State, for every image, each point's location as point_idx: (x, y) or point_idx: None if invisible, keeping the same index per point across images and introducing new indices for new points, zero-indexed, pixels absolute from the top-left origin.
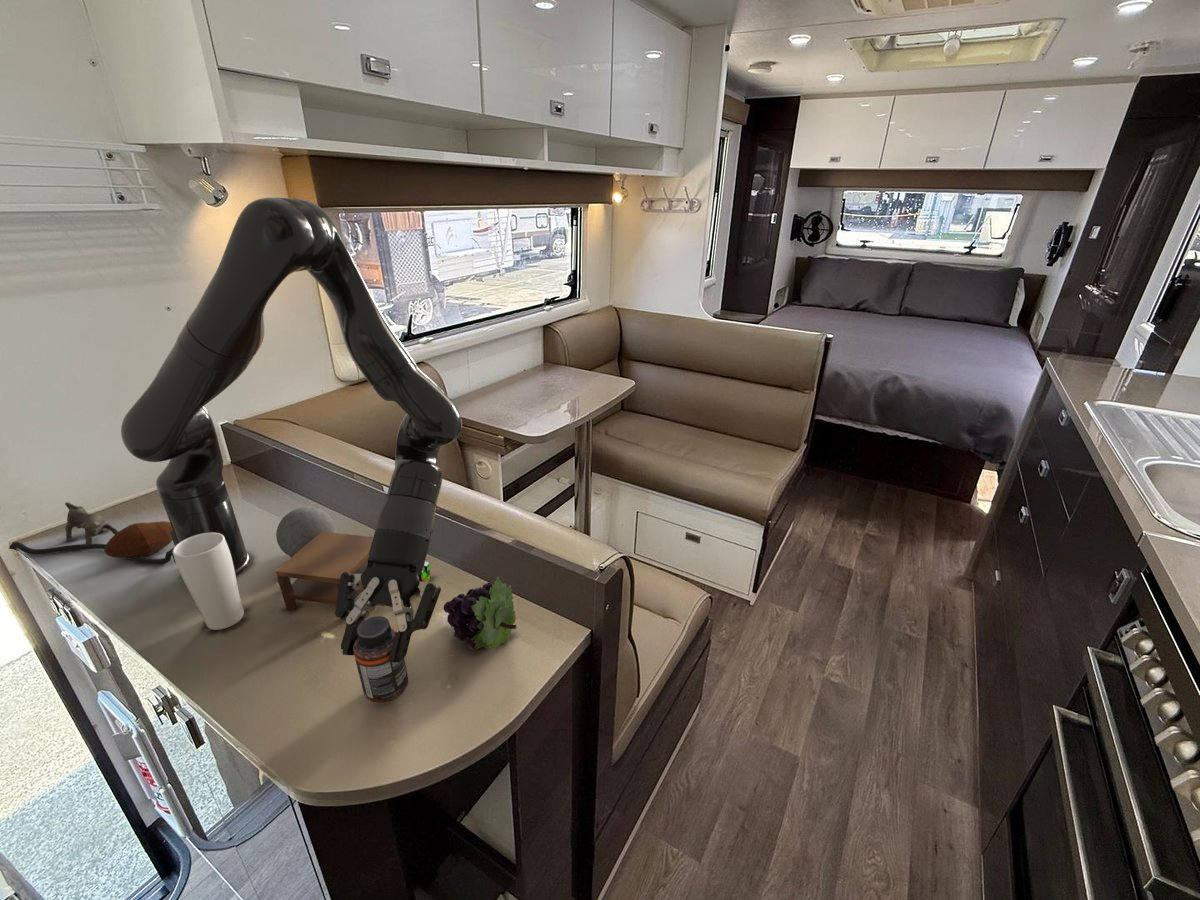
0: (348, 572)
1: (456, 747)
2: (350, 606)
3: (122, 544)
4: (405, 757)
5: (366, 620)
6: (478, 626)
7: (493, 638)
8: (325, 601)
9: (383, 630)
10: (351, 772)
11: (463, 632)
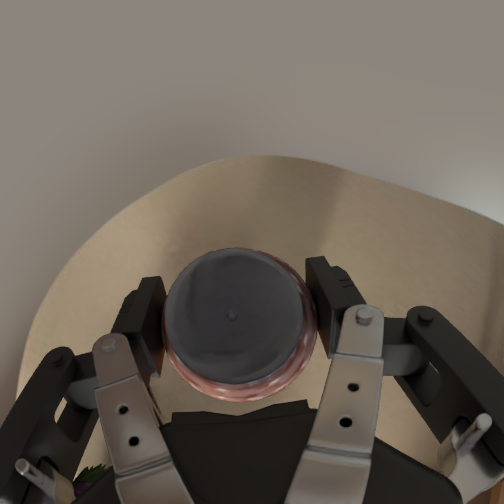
0: (499, 502)
1: (76, 268)
2: (418, 386)
3: None
4: (139, 230)
5: (287, 334)
6: None
7: None
8: None
9: (171, 305)
10: (207, 187)
11: None
